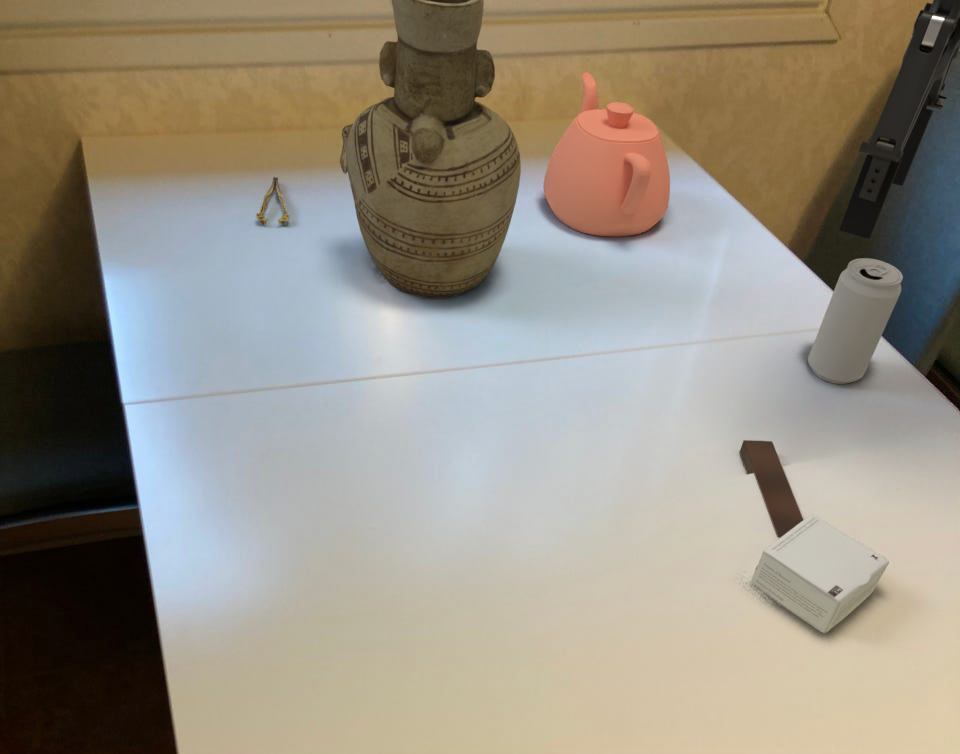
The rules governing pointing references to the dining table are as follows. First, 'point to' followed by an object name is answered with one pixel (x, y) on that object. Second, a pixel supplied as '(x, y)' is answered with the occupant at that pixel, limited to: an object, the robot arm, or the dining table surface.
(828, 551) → the small box
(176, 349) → the dining table surface
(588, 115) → the teapot
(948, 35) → the robot arm
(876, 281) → the beverage can
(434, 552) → the dining table surface
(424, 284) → the ceramic vessel
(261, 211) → the tongs
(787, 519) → the walnut slat
